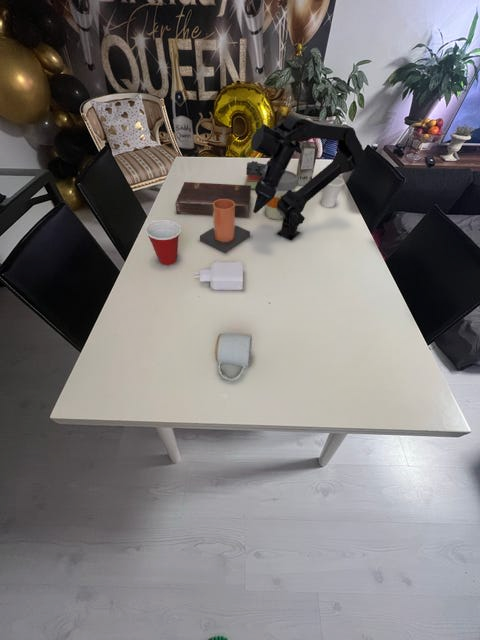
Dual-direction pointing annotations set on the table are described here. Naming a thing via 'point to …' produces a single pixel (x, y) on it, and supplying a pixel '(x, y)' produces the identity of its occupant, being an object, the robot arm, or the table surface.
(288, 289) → the table surface
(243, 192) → the hardback book
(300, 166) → the coffee box
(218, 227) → the cup
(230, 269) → the charger
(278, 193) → the reusable coffee cup
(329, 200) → the dixie cup
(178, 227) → the plastic cup
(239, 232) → the dark grey base plate
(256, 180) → the hardcover book
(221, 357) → the ceramic mug
